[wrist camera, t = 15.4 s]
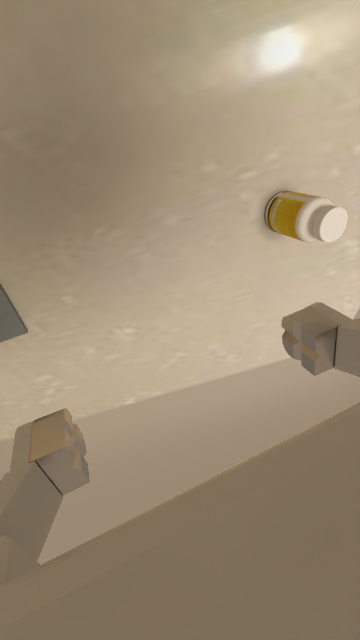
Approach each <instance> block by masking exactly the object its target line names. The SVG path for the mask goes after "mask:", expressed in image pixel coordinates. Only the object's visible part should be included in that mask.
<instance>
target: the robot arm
mask: <svg viewBox="0 0 360 640" xmlns="http://www.w3.org/2000/svg"><path fill="white" fill-rule="evenodd" d="M282 327H283V328H284V329H285V332H284V334H283V336H282V341H283V345H284V348H285V350H286V351H287V353H288V354H289V355H290V356H291V357H292V358H293V359H298V360H301V364H302V366H303V367H304V368H305V369H307V370H308V371H309V372H310V373H311V374H313V375H314V376H316V375H318V374H320V373H322V372H325V371H327V370H329V369H332V368H334V367H335V369H338V370H341V371H344V372H347V373H350V374H353V375H355V376H359V377H360V319H354V320H353V319H351V318H349V317H347V316H345V315H343V314H341V313H340V312H338V311H336V310H334V309H332V308H330V307H329V306H327V305H325V304H323V303H320V302H317V303H314V304H312V305H310V306H308V307H306V308H304V309H301V310H299V311H297V312H294V313H292V314H290V315H287V316H285V317H283V319H282ZM85 454H86V446H85V442H84V439H83V435H82V433H81V431H80V429H79V427H78V425H76V424H73V423H72V416H71V414H70V412H69V411H68V409H62V410H59V411H57V412H54V413H52V414H49V415H47V416H44V417H42V418H39V419H37V420H34V421H32V422H30V423H27V424H25V425H22V426H20V427H18V428H17V429H16V431H15V437H14V445H13V452H12V460H11V467H10V472H9V473H7V474H5V475H4V476H3V478H2V479H1V480H0V640H360V403H358V404H356V405H354V406H352V407H350V408H348V409H346V410H344V411H342V412H340V413H338V414H336V415H334V416H333V417H330V418H328V419H326V420H324V421H322V422H320V423H319V424H317V425H315V426H313V427H311V428H309V429H307V430H305V431H303V432H301V433H299V434H297V435H295V436H293V437H291V438H289V439H287V440H285V441H283V442H281V443H279V444H277V445H275V446H274V447H272V448H270V449H268V450H266V451H264V452H262V453H260V454H258V455H256V456H254V457H252V458H250V459H248V460H246V461H244V462H242V463H240V464H238V465H236V466H234V467H232V468H230V469H228V470H226V471H224V472H222V473H221V474H219V475H217V476H215V477H213V478H211V479H209V480H207V481H205V482H203V483H201V484H199V485H197V486H195V487H193V488H191V489H189V490H187V491H185V492H183V493H181V494H179V495H177V496H175V497H174V498H172V499H169V500H168V501H166V502H164V503H162V504H160V505H158V506H156V507H154V508H152V509H150V510H148V511H146V512H144V513H142V514H140V515H138V516H136V517H134V518H132V519H130V520H128V521H126V522H124V523H122V524H120V525H119V526H117V527H115V528H113V529H111V530H109V531H107V532H105V533H103V534H101V535H99V536H97V537H95V538H93V539H91V540H89V541H87V542H85V543H83V544H81V545H79V546H77V547H75V548H74V549H71V550H70V551H68V552H66V553H64V554H62V555H60V556H58V557H56V558H54V559H52V560H50V561H48V562H46V563H44V564H42V565H40V564H39V563H38V562H37V560H38V558H39V555H40V553H41V551H42V548H43V546H44V543H45V541H46V538H47V535H48V533H49V531H50V529H51V526H52V523H53V521H54V519H55V516H56V514H57V511H58V509H59V507H60V504H61V502H62V499H63V495H65V494H67V493H69V492H71V491H73V490H75V489H77V488H79V487H81V486H83V485H85V484H87V483H89V471H88V464H87V462H86V460H85V459H84V455H85Z"/></svg>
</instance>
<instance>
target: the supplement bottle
mask: <svg viewBox="0 0 360 640" xmlns="http://www.w3.org/2000/svg"><path fill="white" fill-rule="evenodd" d="M265 218H266V223H267V225H268V226H269V228H270V229H271V230H273V231H275V232H278V233H281V234H284V235H287V236H290V237H293V238H295V239H298V240H301V241H305V242H310V243H311V242H316V241H319V240H320V241H323V242H327V243H329V242H333V241H335V240H337V239H338V238H339V237H340V236H341V235H342V234H343V232H344V230H345V228H346V226H347V221H348V216H347V212H346V211H345V210H344V209H343V208H341V207H337V206H333V204H332V202H331V201H330V200H329V199H327V198H324V197H319V196H313V195H307V194H301V193H295V192H288V191H284V192H280V193H278V194H277V195H275V196H274V197H273V198H272V199H271V201H270V202H269V204H268V206H267V209H266V214H265Z"/></svg>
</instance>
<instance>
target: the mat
mask: <svg viewBox="0 0 360 640" xmlns="http://www.w3.org/2000/svg"><path fill="white" fill-rule="evenodd" d="M27 332H28V330H27V328H26V327H25V325H24V323H23V321H22V320H21V318H20V316H19V315H18V313H17V311H16V310H15V308H14V306H13V304H12V303H11V301H10V299H9V298H8V296H7V294H6V293H5V291H4V289H3V288H2V286H1V284H0V342H3V341H5V340H8V339H11V338H14V337H16V336H19V335H22V334H25V333H27Z"/></svg>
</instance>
